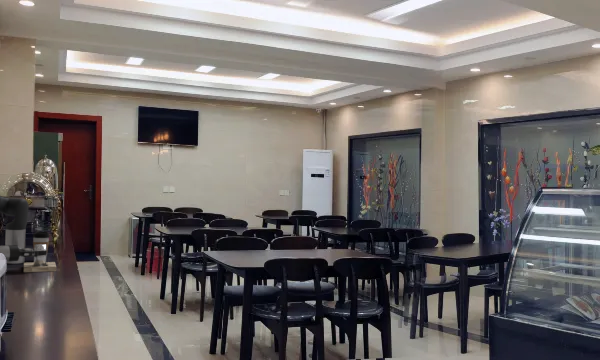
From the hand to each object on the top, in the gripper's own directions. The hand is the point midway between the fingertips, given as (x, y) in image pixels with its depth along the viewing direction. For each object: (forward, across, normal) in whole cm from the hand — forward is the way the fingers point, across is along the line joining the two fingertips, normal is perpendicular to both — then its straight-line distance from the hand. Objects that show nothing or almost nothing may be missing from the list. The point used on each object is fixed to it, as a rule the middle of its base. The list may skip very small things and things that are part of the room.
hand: (43, 251), depth 278 cm
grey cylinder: (-2, 0, +8) cm, 9 cm away
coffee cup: (+9, +34, +9) cm, 36 cm away
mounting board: (-1, +2, +9) cm, 9 cm away
